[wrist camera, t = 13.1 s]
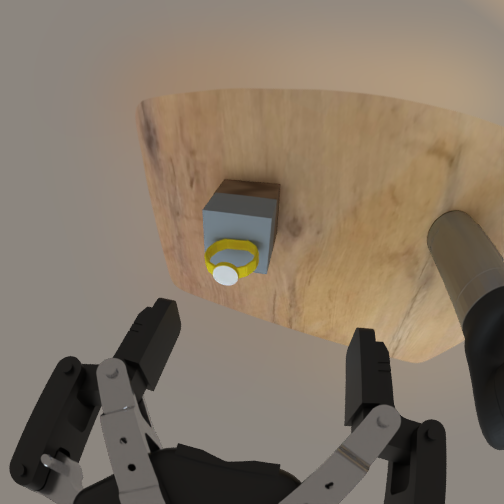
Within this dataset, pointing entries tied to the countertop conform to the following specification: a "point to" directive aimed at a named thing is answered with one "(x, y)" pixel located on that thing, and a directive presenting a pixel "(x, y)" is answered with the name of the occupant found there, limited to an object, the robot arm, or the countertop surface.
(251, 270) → the watch
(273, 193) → the walnut block
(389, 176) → the countertop surface
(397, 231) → the countertop surface
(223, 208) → the grey block
